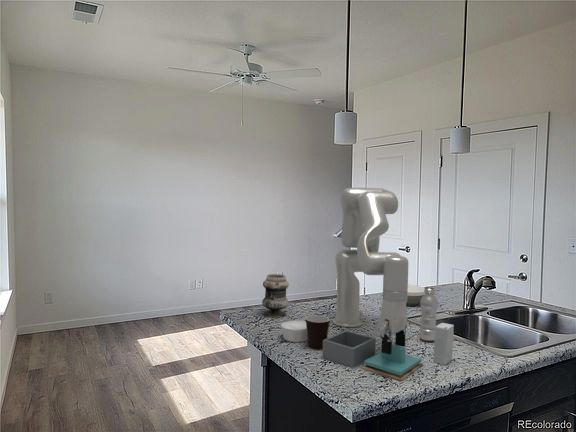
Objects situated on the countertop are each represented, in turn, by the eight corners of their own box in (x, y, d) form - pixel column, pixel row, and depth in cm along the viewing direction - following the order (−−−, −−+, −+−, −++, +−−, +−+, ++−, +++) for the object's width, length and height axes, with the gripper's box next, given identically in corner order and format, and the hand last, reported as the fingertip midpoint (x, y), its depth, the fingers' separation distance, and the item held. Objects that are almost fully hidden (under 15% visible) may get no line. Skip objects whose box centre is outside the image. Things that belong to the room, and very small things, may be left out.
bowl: (432, 308, 204) (432, 292, 204) (393, 308, 204) (394, 291, 204) (420, 299, 223) (420, 284, 222) (385, 299, 223) (385, 283, 223)
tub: (345, 346, 149) (345, 330, 148) (375, 355, 141) (375, 338, 141) (322, 357, 138) (322, 340, 138) (353, 367, 130) (353, 349, 130)
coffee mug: (322, 352, 143) (322, 323, 143) (300, 347, 147) (301, 319, 147) (336, 342, 153) (337, 316, 152) (316, 338, 157) (316, 312, 157)
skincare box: (439, 357, 141) (440, 321, 140) (453, 360, 138) (454, 324, 137) (432, 362, 136) (433, 325, 136) (446, 366, 133) (447, 328, 133)
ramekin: (276, 340, 154) (276, 326, 154) (287, 332, 165) (287, 319, 164) (304, 345, 150) (305, 330, 150) (314, 336, 160) (314, 322, 160)
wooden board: (386, 355, 142) (386, 353, 142) (423, 365, 133) (423, 363, 133) (362, 369, 129) (362, 367, 129) (400, 381, 121) (401, 379, 121)
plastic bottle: (436, 338, 160) (438, 287, 159) (437, 344, 153) (438, 290, 153) (419, 336, 162) (420, 285, 161) (418, 342, 155) (420, 289, 155)
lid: (386, 354, 141) (386, 335, 141) (421, 364, 133) (421, 344, 132) (363, 366, 130) (364, 346, 130) (400, 378, 122) (401, 357, 122)
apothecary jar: (279, 320, 180) (280, 279, 180) (256, 315, 186) (257, 276, 186) (293, 313, 191) (293, 274, 190) (271, 309, 197) (271, 272, 196)
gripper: (396, 289, 139) (394, 339, 140) (370, 298, 126) (369, 353, 127) (417, 292, 134) (416, 345, 135) (393, 302, 121) (391, 360, 122)
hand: (393, 349), depth 131 cm, fingers open, 9 cm apart
